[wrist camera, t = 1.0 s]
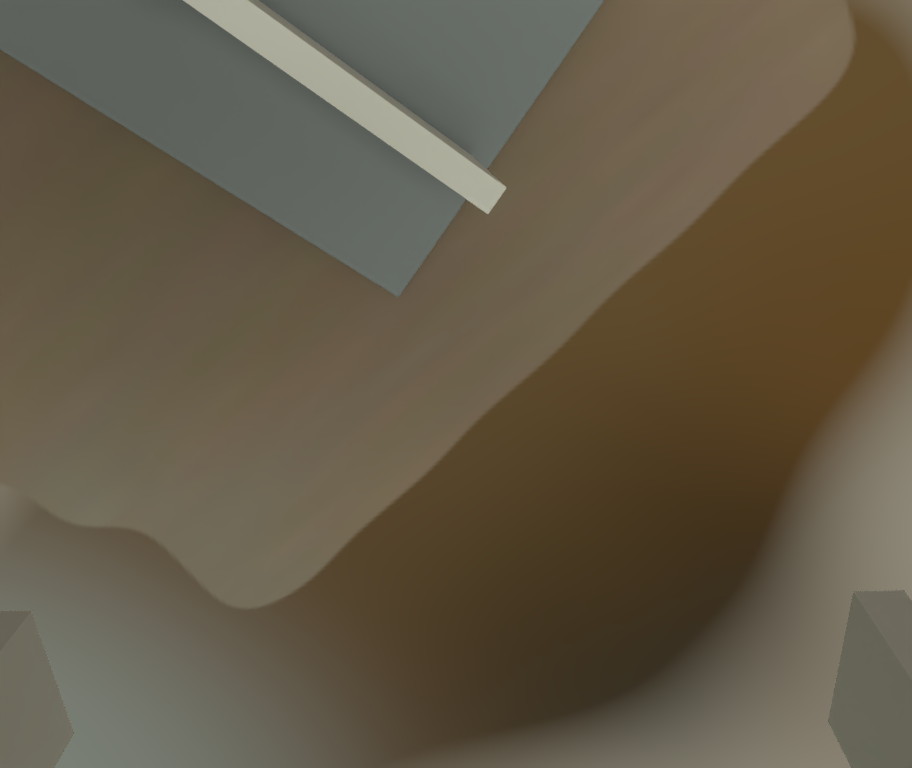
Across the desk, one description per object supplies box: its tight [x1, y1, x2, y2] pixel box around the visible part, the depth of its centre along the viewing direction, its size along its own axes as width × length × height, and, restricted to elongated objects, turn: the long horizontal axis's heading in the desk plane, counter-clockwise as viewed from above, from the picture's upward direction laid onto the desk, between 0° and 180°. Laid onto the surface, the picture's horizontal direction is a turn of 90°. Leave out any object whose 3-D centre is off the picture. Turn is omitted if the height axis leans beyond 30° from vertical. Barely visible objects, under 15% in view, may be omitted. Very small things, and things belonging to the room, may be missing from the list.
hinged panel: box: [183, 0, 507, 214], centre depth 31 cm, size 13×1×8 cm, turn 54°
